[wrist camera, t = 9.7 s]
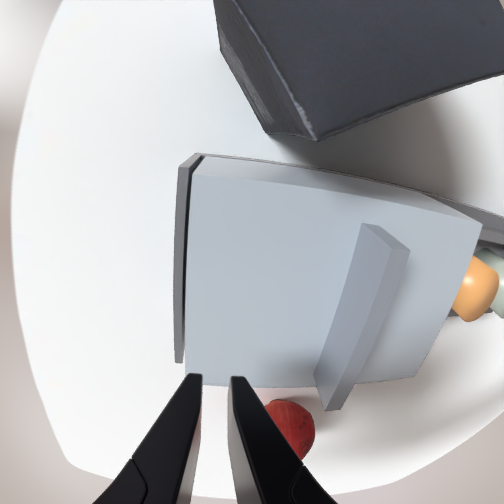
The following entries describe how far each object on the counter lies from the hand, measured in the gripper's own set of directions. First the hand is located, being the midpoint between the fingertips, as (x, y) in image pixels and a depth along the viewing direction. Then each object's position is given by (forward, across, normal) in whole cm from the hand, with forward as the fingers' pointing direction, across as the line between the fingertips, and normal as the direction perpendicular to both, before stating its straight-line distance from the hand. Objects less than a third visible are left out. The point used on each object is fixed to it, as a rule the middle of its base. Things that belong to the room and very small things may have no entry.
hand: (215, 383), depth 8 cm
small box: (+12, -4, -12) cm, 17 cm away
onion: (+12, -6, +16) cm, 21 cm away
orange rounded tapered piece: (+10, -17, 0) cm, 20 cm away
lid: (+10, -5, 0) cm, 12 cm away
